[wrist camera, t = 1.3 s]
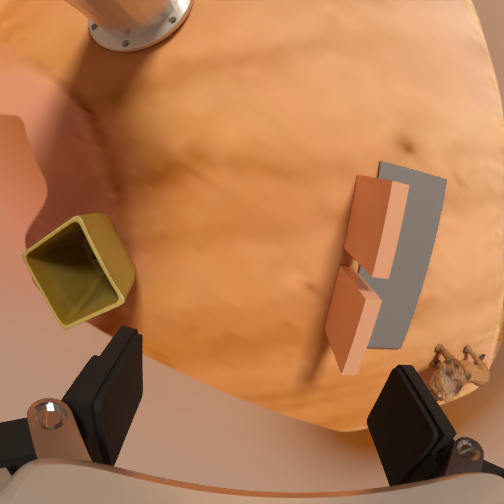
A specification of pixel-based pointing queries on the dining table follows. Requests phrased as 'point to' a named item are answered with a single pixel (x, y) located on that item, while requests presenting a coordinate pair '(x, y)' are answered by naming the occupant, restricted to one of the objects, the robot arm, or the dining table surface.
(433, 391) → the lion figurine
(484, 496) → the robot arm
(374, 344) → the felt mat
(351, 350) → the tile
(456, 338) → the dining table surface
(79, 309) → the flower pot
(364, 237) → the tile
